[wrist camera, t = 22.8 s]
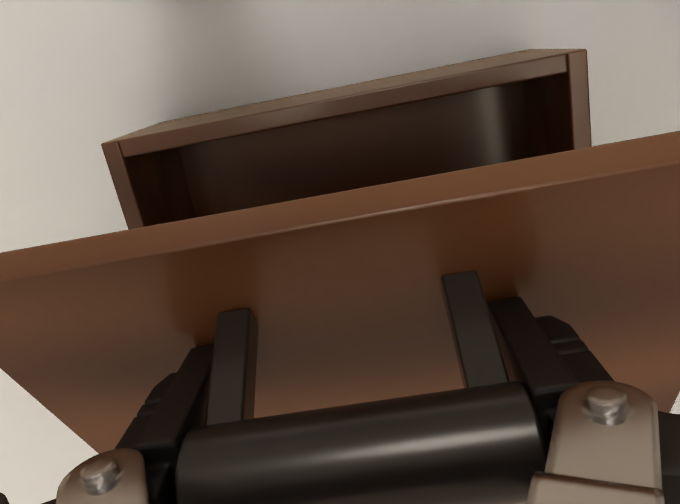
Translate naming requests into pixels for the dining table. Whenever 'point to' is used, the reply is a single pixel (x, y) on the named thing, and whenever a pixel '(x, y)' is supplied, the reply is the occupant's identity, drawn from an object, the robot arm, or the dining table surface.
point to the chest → (354, 136)
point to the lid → (360, 325)
